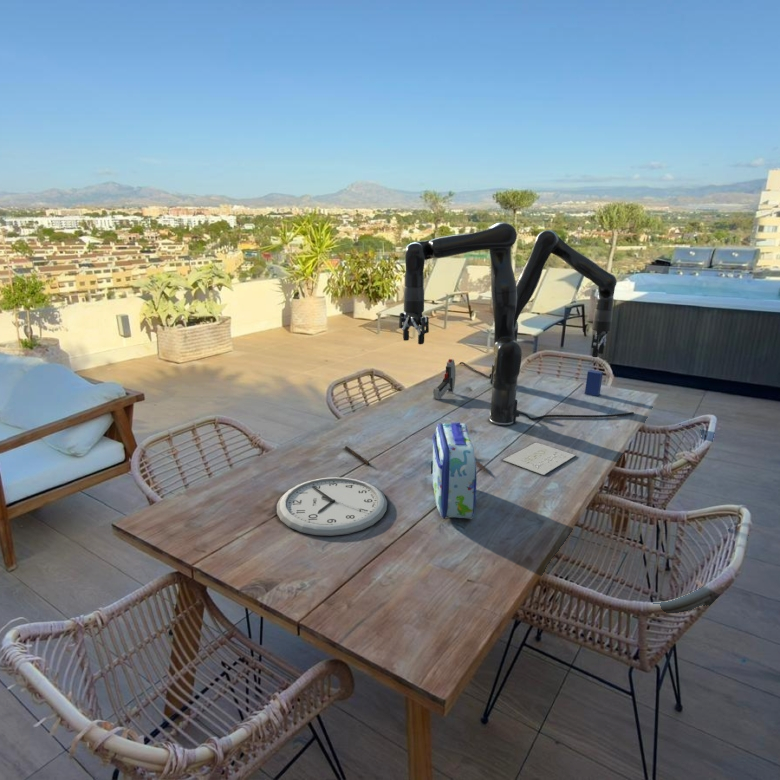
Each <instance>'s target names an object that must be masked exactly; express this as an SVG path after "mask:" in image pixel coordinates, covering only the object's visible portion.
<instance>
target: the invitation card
mask: <svg viewBox="0 0 780 780" xmlns="http://www.w3.org/2000/svg"><path fill="white" fill-rule="evenodd" d="M576 456H577V455H576V454H573V453H570V452H567V451H565V450H561V449H558V448H555V447H552V446H549V445H546V444H543V443H539V442H534V443H532V444H529V445H528V446H526V447H524V448H522V449H520V450H518V451H516V452H514V453H512V454H510V455H509V456H507V457H505V458H503V459H502V461H503V462H506V463H509V464H511V465H514V466H518V467H520V468H523V469H525V470H528V471H531V472H534V473H536V474H539V475H541V476H545V475H547V474H548V473H550V472H552V471H554V469H556V468H558V467H559V466H561V465H563V464H564V463H566V462H568V461H570V460H571V459H572V458H574V457H576Z"/></svg>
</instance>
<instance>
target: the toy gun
mask: <svg viewBox="0 0 780 780" xmlns="http://www.w3.org/2000/svg"><path fill="white" fill-rule="evenodd" d="M455 384H456V364H455V359H453V358H448V360H447V362H446V366H445V373H444V377H443V379H442V382H441V383H440V384H438V386H437V387H434V388H433V399H435V400H441V398H443V396H444V395H446V393H452V394H453V393H454V390H455Z"/></svg>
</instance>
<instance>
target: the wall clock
mask: <svg viewBox="0 0 780 780" xmlns="http://www.w3.org/2000/svg"><path fill="white" fill-rule="evenodd" d="M387 509H388V500H387V498H386V496H385V494H384V493H383V492H382V491H381V490H380V489H379V488H377V487H376V486H374V485H372V484H371V483H369V482H365V481H362V480H359V479H355V478H349V477H338V476H337V477H335V476H333V477H332V476H331V477H322V478H317V479H312V480H307V481H305V482H302V483H299V484H297V485H295V486H293V487H292V488H290V489H288V490H287V491H286V492H285V493H284V494H283V495H281V496H280V498H279V499H278V502H277V503H276V515H277V517H278V518H279V520H280V521H281V522H282V523H283V524H285V525H286V526H287V527H288V528H290V529H293V530H295V531H297V532H299V533H303V534H308V535H312V536H327V537H328V536H329V537H331V536H332V537H333V536H342V535H350V534H352V533H356V532H361V531H363V530H366V529H368V528H369V527H372V526H373V525H375V524H376V523H378V522H379V521H380V520H381V519H382V518H383V517H384V516H385V514H386V512H387Z"/></svg>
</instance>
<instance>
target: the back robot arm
mask: <svg viewBox="0 0 780 780" xmlns="http://www.w3.org/2000/svg"><path fill="white" fill-rule="evenodd" d="M551 254H552V255H554V256H556V257H558V258H560V259H561V260H562V261H563V262H565V263H566V264H567V265H568V266H569V267H571V268H572V269H573V270H574V271H576V272H577V273H578V274H580V275H582V277H584V278H586V279H587V280H590V281H591V282H592V283H593V284H594V285H596V286H597V287H598V288H597V298H596V302H595V303H596V304H595V309H594V313H593V320H592V328H591V329H592V330H593V331H595V334H592V340H591V345H590V347H591V349H592V354H591V357H592V358H598V357H599V354H600V355H603V354H604V353H605V352H604V351H605V346H606V345H607V342H608V335H609V334H608V333H609V332H610V331H611V330H612V329H611V328H612V321H613V309H614V303H615V302H614V301H615V299H614V297H615V291H616V290H615V289H616V286H617V282H618V281H617V278H616V276H615V275H614V274H613V273H610V272H608V271H607V270H606V269H604V268H603V267H600V266H599V264H598V263H596V262H594V261H593V260H591V259H590V258H588V257H587V256H586V255H584V254H583V253H581V252H579V251H577V250H576V249H574V248H573V247H571V246H570V245H569V244H567V242H565V241H564V240H563V239H562V238H561V237H560V236H559V235H558V234H557V232H555V231H554V230H552V229H546V230H543V231H541V232H539V234H538V235H537V236H536V238H535V241H534V245H533V248H532V250H531V253H530V255H529V258H528V259H527V261H526V264H525V265H524V266H523V268H522V270H521V272H520V274H519V275H518V277H517V280H516V287H517V308H516V313H515V317H514V336H515V341H516V342H517V343H518V334H519V323H518V319H519V317H520V315H521V313H522V312H523V310H524V309H525V307H526V306H527V304H528V303H529V302H530V300H531V298H532V297H533V295H534V293H535V291H536V289H537V287H538V285H539V283H540V280H541V277H542V274H543V270H544V267H545V265H546V263H547V261H548V259H549V258H550V256H551ZM493 359H494V361H493V364H492V365H491V373H489V376H488V375H486V374H485V373H483V372H481V371H479V370H477V369H474V368H472V367H471V366H470V365H468V364H466V363H465V362H464V361H461V362H459V363H458V364H459V365H464V366H465V367H467V368H468V369H470V370H471V371H472V372H474V373H477V374H480V375H481V376H483V377H485V378H487V379H490V384H492V385H493V374H494V372H495V370H496V362H497V357H496V356H495V355H494V358H493Z"/></svg>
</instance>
